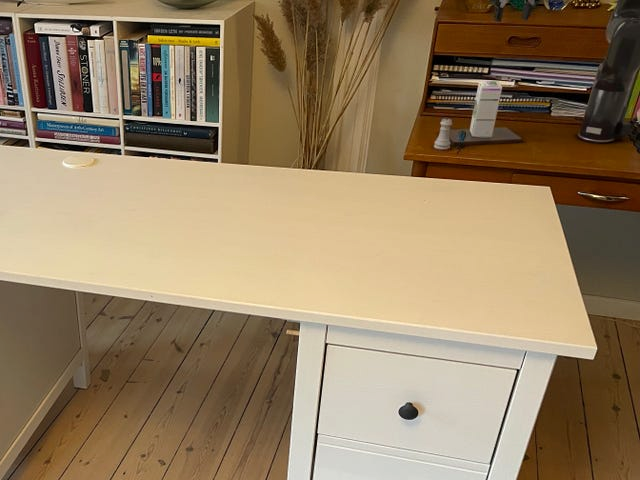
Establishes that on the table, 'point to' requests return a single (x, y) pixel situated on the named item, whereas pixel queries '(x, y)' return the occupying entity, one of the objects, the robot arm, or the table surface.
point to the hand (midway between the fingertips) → (511, 20)
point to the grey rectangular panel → (497, 137)
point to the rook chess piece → (443, 135)
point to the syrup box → (485, 108)
